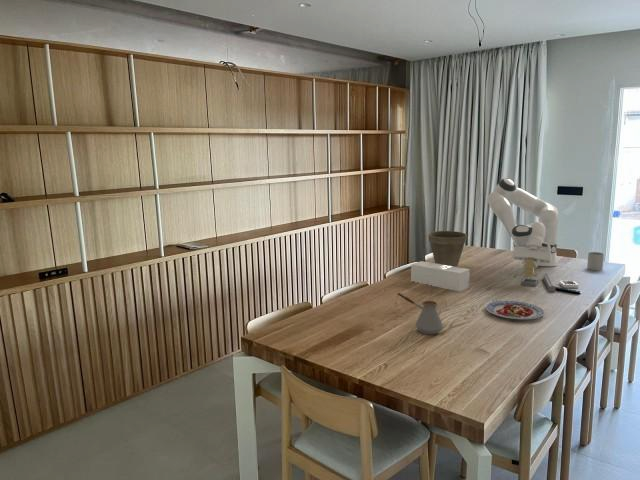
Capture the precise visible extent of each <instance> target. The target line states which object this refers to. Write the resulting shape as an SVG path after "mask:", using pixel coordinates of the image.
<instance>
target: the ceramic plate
mask: <svg viewBox="0 0 640 480" xmlns="http://www.w3.org/2000/svg"><path fill="white" fill-rule="evenodd" d="M485 309H486V310H487V311H488V312H489V313H490V314H493V315H495V316H497V317H501V318H507V319H512V320H533V319H534V320H535V319H539V318H542V317H543V316H544V315H545V310H544V309H543V308H541V307H539V306H538V305H535V304H532V303H528V302H523V301H517V300H495V301H492V302H489V303H487V304H486V305H485Z"/></svg>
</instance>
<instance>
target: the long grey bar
mask: <svg viewBox="0 0 640 480" xmlns="http://www.w3.org/2000/svg"><path fill="white" fill-rule="evenodd" d="M542 277H543V281H544V283H545V286H546V287H547V290H548V292H549V293H550V292H553V293H555V292H556V285H555V283H554V281H553V279H552V276H551V275H550V274H549V273H543V276H542Z"/></svg>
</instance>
